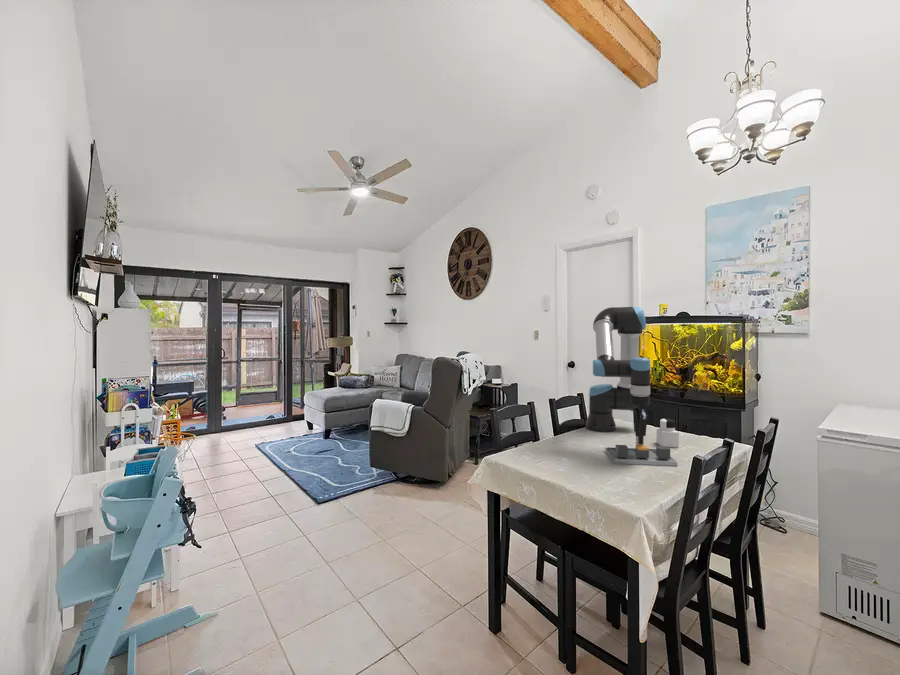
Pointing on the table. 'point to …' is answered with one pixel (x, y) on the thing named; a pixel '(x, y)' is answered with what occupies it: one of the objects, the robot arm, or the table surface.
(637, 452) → the block
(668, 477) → the table surface
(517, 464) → the table surface
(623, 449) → the breaker
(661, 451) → the block
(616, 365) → the robot arm
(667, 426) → the medicine bottle
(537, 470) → the table surface
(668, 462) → the panel
